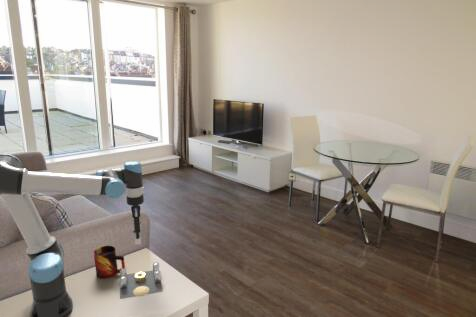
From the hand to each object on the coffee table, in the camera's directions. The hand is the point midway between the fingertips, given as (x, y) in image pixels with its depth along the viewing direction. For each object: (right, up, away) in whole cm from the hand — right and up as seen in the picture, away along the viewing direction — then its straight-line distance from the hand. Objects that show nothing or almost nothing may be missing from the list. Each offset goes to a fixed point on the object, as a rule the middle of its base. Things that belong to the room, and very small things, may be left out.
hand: (137, 240), depth 162 cm
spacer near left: (-4, -19, -8) cm, 21 cm away
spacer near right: (+10, -18, -4) cm, 21 cm away
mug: (-14, -16, +3) cm, 21 cm away
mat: (+3, -19, -5) cm, 20 cm away
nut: (+2, -18, -2) cm, 18 cm away
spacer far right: (+8, -16, +3) cm, 19 cm away
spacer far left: (-6, -17, -2) cm, 19 cm away
